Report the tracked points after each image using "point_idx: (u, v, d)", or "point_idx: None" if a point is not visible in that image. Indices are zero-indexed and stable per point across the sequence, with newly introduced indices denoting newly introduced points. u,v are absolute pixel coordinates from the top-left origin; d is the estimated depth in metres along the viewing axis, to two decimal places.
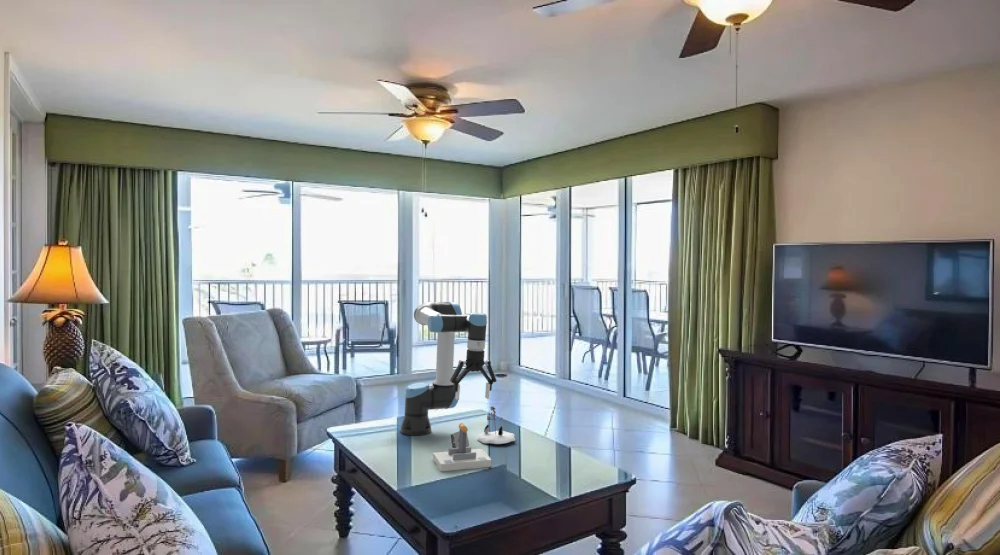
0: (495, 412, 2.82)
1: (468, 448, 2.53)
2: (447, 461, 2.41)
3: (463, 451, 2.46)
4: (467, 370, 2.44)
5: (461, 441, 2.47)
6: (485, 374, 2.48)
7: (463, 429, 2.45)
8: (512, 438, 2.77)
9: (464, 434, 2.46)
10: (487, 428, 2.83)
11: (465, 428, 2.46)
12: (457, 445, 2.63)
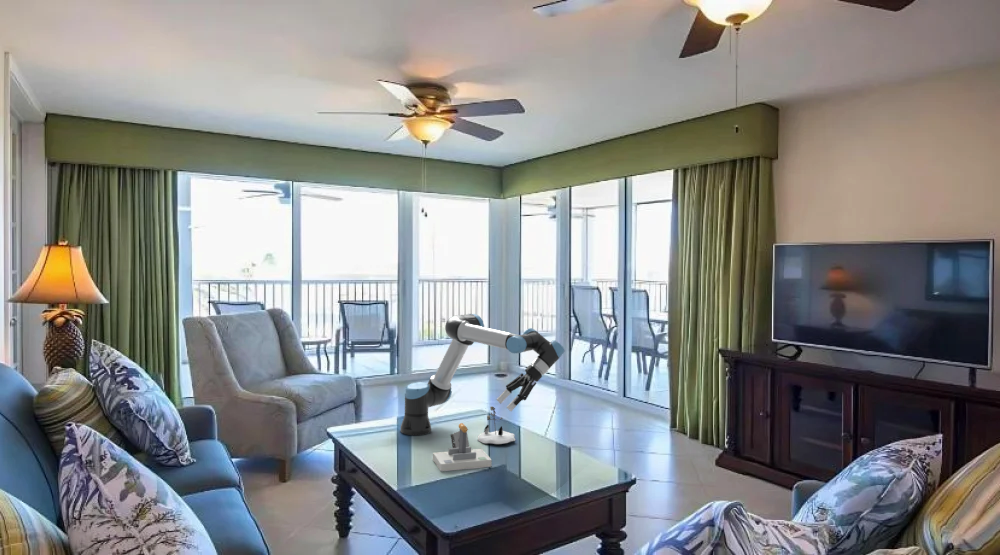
0: (495, 412, 2.82)
1: (468, 448, 2.53)
2: (447, 461, 2.41)
3: (463, 451, 2.46)
4: None
5: (461, 441, 2.47)
6: None
7: (463, 429, 2.45)
8: (512, 438, 2.77)
9: (464, 434, 2.46)
10: (487, 428, 2.83)
11: (465, 428, 2.46)
12: (457, 445, 2.63)
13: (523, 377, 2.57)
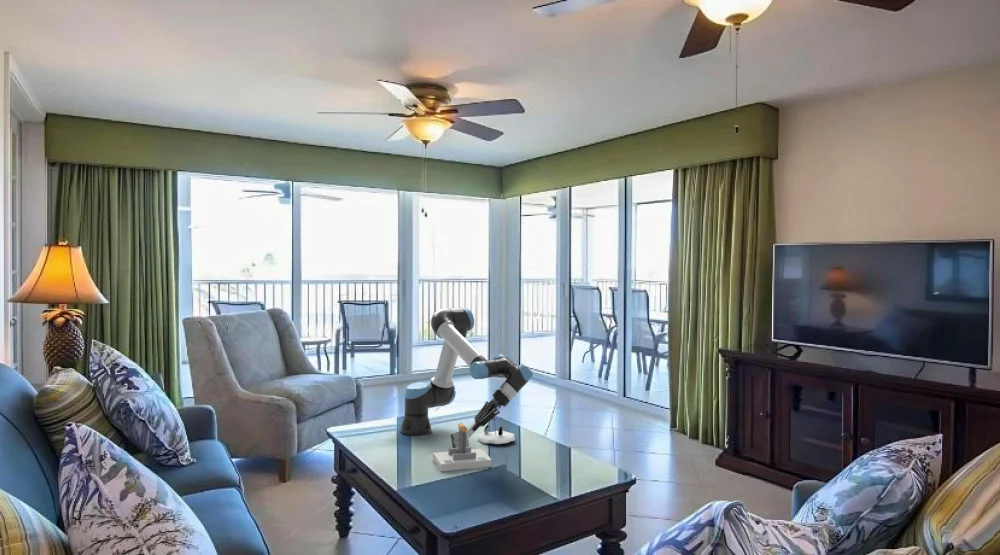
0: None
1: (468, 448, 2.53)
2: (447, 461, 2.41)
3: (463, 451, 2.46)
4: None
5: (461, 441, 2.47)
6: None
7: (462, 429, 2.45)
8: (512, 438, 2.77)
9: (464, 434, 2.46)
10: (487, 428, 2.83)
11: (464, 428, 2.46)
12: (457, 445, 2.63)
13: (491, 401, 2.53)
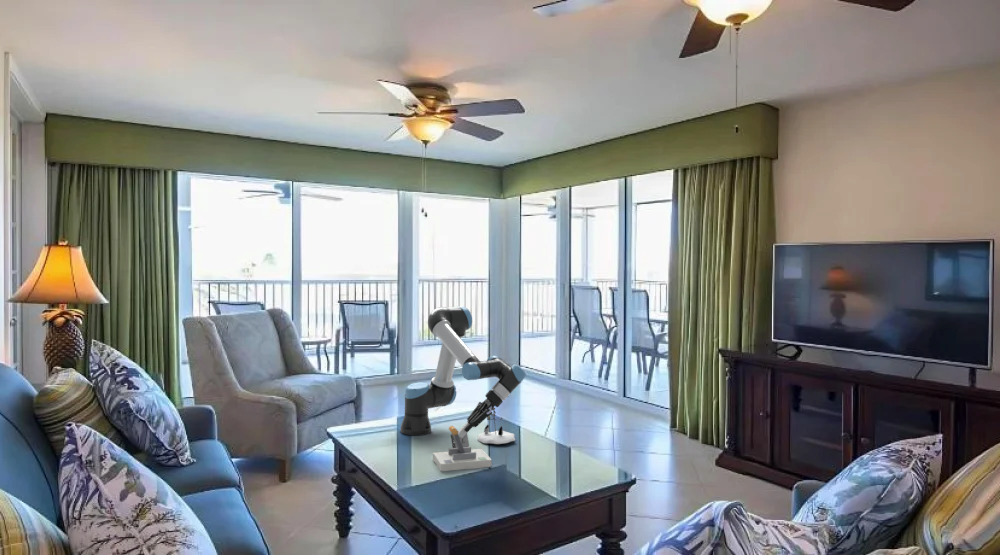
0: (495, 412, 2.82)
1: (468, 448, 2.53)
2: (447, 461, 2.41)
3: (462, 452, 2.46)
4: None
5: (456, 443, 2.47)
6: None
7: (453, 432, 2.44)
8: (512, 438, 2.77)
9: (456, 436, 2.45)
10: (487, 428, 2.83)
11: (455, 431, 2.44)
12: None
13: (484, 402, 2.52)
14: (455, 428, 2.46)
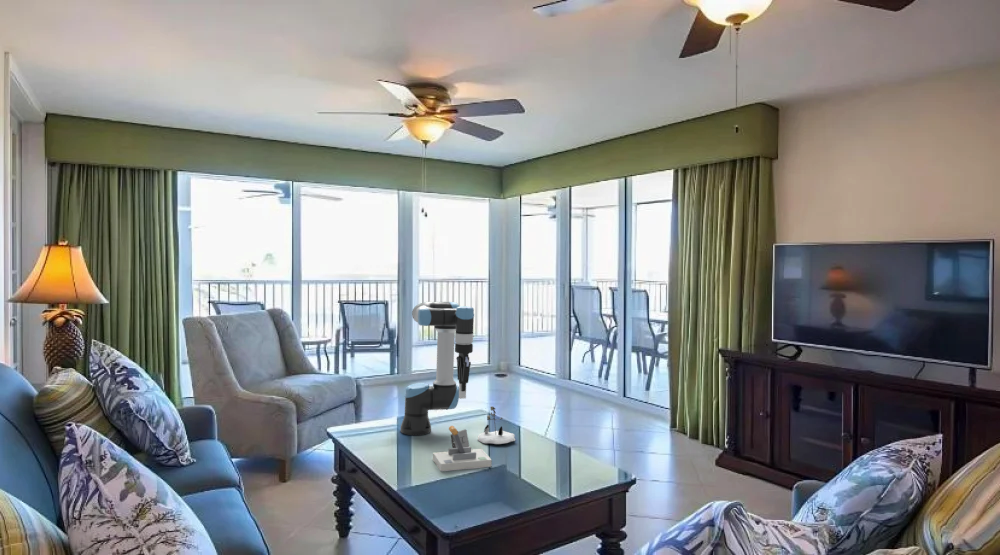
0: (495, 412, 2.82)
1: (468, 448, 2.53)
2: (447, 461, 2.41)
3: (462, 452, 2.46)
4: None
5: (456, 443, 2.47)
6: None
7: (453, 432, 2.44)
8: (512, 438, 2.77)
9: (456, 436, 2.45)
10: (487, 428, 2.83)
11: (455, 431, 2.44)
12: None
13: (458, 357, 2.47)
14: (455, 428, 2.46)
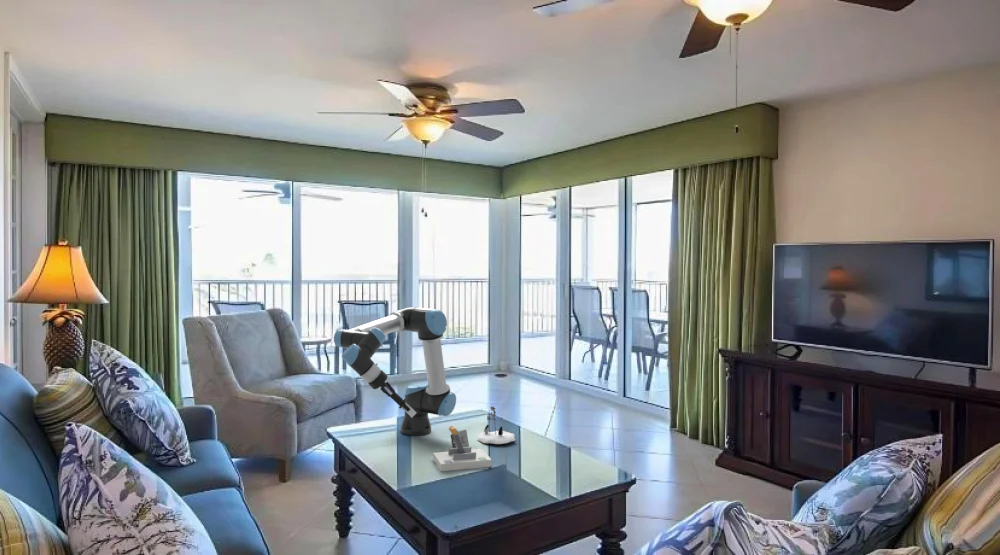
0: (495, 412, 2.82)
1: (468, 448, 2.53)
2: (447, 461, 2.41)
3: (462, 452, 2.46)
4: (394, 390, 2.35)
5: (456, 443, 2.47)
6: (396, 393, 2.39)
7: (453, 432, 2.44)
8: (512, 438, 2.77)
9: (456, 436, 2.45)
10: (487, 428, 2.83)
11: (455, 431, 2.44)
12: None
13: (381, 389, 2.36)
14: (455, 428, 2.46)
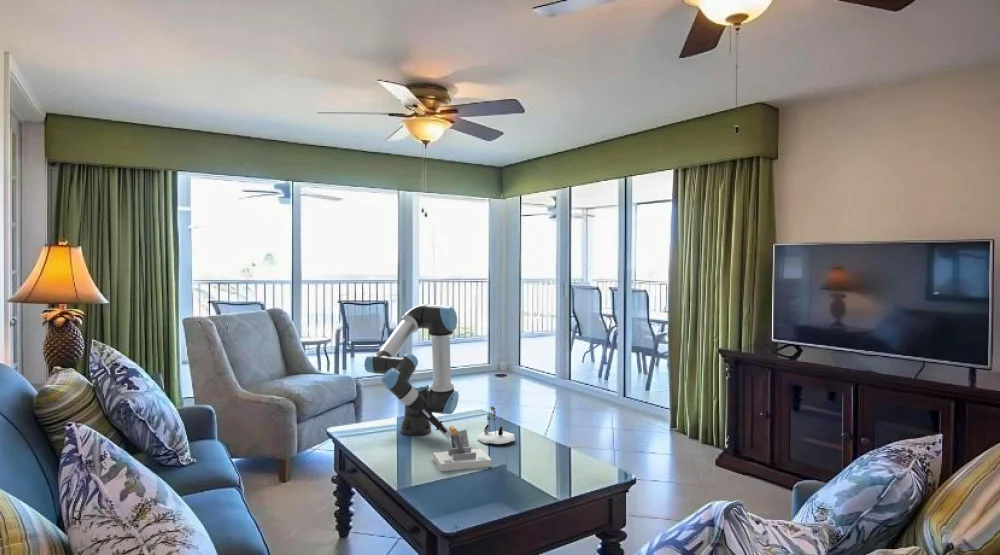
0: (495, 412, 2.82)
1: (468, 448, 2.53)
2: (447, 461, 2.41)
3: (462, 452, 2.46)
4: (431, 413, 2.41)
5: (456, 443, 2.47)
6: None
7: (453, 432, 2.44)
8: (512, 438, 2.77)
9: (456, 436, 2.45)
10: (487, 428, 2.83)
11: (455, 431, 2.44)
12: None
13: (418, 411, 2.42)
14: (455, 428, 2.46)
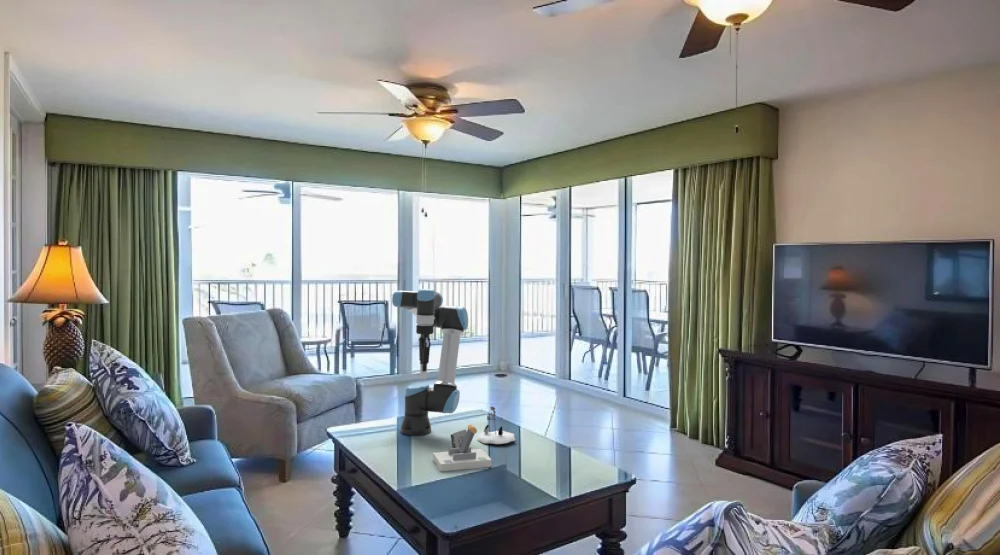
0: (495, 412, 2.82)
1: (468, 448, 2.53)
2: (447, 461, 2.41)
3: (464, 451, 2.46)
4: None
5: (466, 441, 2.48)
6: None
7: (473, 430, 2.47)
8: (512, 438, 2.77)
9: (471, 435, 2.47)
10: (487, 428, 2.83)
11: (475, 430, 2.47)
12: (457, 445, 2.63)
13: (420, 338, 2.54)
14: None
